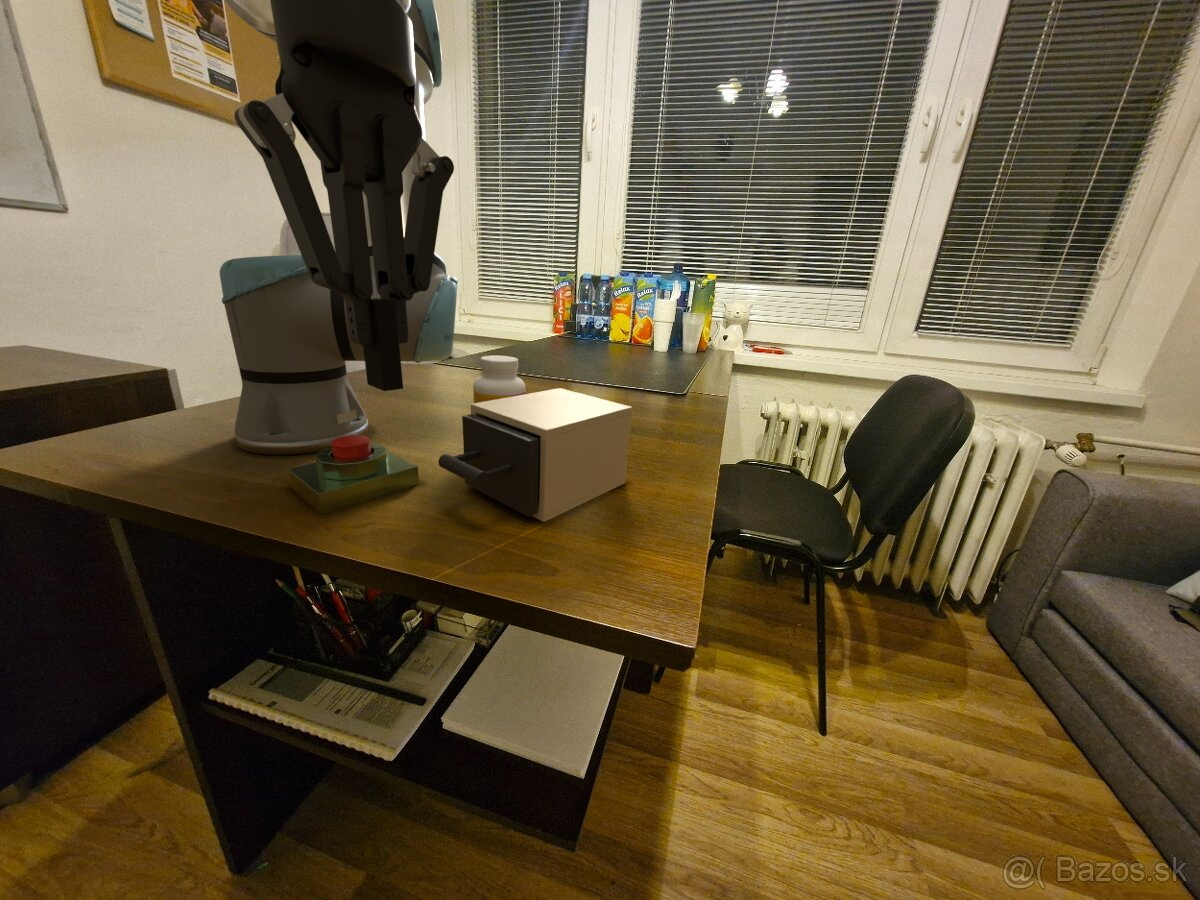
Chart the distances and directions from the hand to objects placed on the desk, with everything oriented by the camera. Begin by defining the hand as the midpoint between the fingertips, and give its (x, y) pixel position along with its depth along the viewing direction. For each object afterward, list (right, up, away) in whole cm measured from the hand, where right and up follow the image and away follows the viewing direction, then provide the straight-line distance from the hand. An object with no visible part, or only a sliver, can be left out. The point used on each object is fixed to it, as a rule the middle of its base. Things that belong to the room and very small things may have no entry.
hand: (385, 386), depth 34 cm
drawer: (+9, -9, +14) cm, 19 cm away
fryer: (+11, -9, +17) cm, 22 cm away
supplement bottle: (+3, -6, +26) cm, 26 cm away
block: (-10, -9, +14) cm, 19 cm away
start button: (-9, -6, +12) cm, 16 cm away
